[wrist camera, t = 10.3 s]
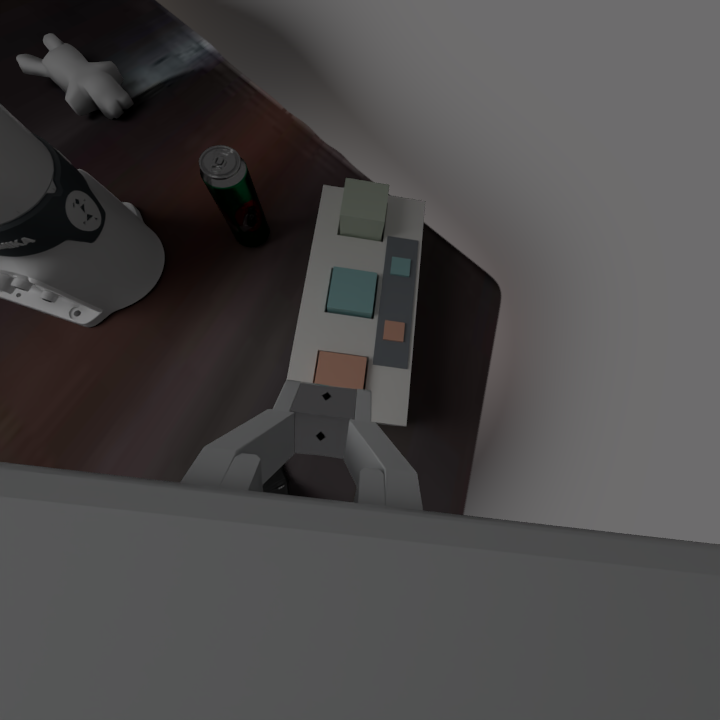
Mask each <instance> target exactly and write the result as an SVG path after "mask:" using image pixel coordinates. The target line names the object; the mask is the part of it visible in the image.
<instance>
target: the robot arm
mask: <svg viewBox="0 0 720 720" xmlns="http://www.w3.org/2000/svg"><path fill="white" fill-rule="evenodd" d="M164 261H165V255H164V249H163V246H162V243H161V241H160V239H159V238H158V236H157V235H156V234H155V233H154V232H153V231H152V230H151V229H150V228H149V227H148V226H147V225H146V224H145V223H144V222H143V219H142V217H141V214H140V212H139V211H138V209H137V208H136V207H134V206H133V205H132V204H131V203H128V202H121V201H120V200H118V199H117V198H116V197H115V196H114V195H113V194H112V193H110V192H109V191H108V190H107V189H106V188H105V187H103V186H102V185H101V184H100V183H99V182H98V181H96V180H95V179H94V178H93V177H92V176H91V175H89V174H88V173H87V172H85V171H83V170H81V169H76V168H75V167H74V166H73V165H72V164H71V162H70V161H69V160H68V159H67V158H66V157H65V156H64V155H63V154H61V153H60V152H59V151H57V150H56V149H55V148H54V147H52V146H51V145H50V144H49V143H48V142H47V141H45V140H44V139H43V138H41V137H39V136H38V135H36V134H33V133H31V132H30V131H29V130H28V129H27V128H26V127H25V126H24V125H23V124H21V123H20V122H19V121H18V120H17V119H16V118H15V117H14V116H13V115H12V114H11V113H10V112H9V111H8V110H7V109H6V108H5V107H3V106H2V105H1V104H0V298H2V299H5V300H8V301H11V302H14V303H17V304H20V305H23V306H26V307H29V308H31V309H34V310H37V311H40V312H43V313H46V314H49V315H52V316H55V317H58V318H61V319H64V320H67V321H70V322H73V323H76V324H79V325H82V326H85V327H93V326H95V325H97V324H98V323H100V322H101V321H102V320H104V319H105V318H106V317H107V316H108V315H109V314H111V313H112V312H114V311H117V310H119V309H122V308H124V307H127V306H129V305H131V304H133V303H135V302H137V301H138V300H140V299H141V298H143V297H144V296H145V295H146V294H147V293H148V292H149V291H150V290H151V289H152V288H153V287H154V286H155V284H156V283H157V281H158V280H159V278H160V276H161V274H162V271H163V267H164ZM80 313H81V314H80ZM79 314H80V315H79ZM294 453H301V454H312V455H321V456H328V457H335V458H342V459H344V462H345V464H346V466H347V468H348V470H349V472H350V474H351V476H352V478H353V480H354V482H355V484H356V486H357V489H356V494H355V498H354V503H353V502H344V501H336V500H327V499H318V498H310V497H301V496H292V495H284V494H275V493H266V492H263V484H264V483H265V482H266V481H267V480H268V479H269V478H270V477H271V476H272V475H273V474H274V473H275V472H276V471H277V470H278V469H279V468H280V467H281V466H282V465H283V464H284V463H286V462H287V461H288V460H289V459H290V458H291V457H292V456H293V455H294ZM0 720H720V544H709V543H701V542H692V541H684V540H675V539H666V538H657V537H648V536H639V535H631V534H622V533H613V532H605V531H595V530H587V529H579V528H570V527H561V526H552V525H544V524H535V523H527V522H518V521H509V520H501V519H492V518H483V517H474V516H466V515H457V514H449V513H440V512H431V511H423V509H422V502H421V496H420V489H419V483H418V476H417V473H416V471H415V470H414V469H413V468H412V466H411V465H410V464H409V463H408V462H407V460H406V459H405V458H404V457H403V455H402V454H401V453H400V452H399V451H398V449H397V448H396V447H395V446H394V444H393V443H392V442H391V441H390V440H389V438H388V437H387V436H386V435H385V433H384V432H383V431H382V430H381V429H380V427H379V426H378V425H377V424H376V423H375V422H371V390H365V389H352V388H344V387H336V386H329V385H323V384H316V383H309V382H303V381H302V382H301V381H295V380H287V381H286V382H285V384H284V386H283V388H282V390H281V392H280V395H279V397H278V399H277V401H276V403H275V405H274V408H273V409H268V410H266V411H264V412H262V413H261V414H259V415H257V416H256V417H254V418H252V419H251V420H249V421H247V422H246V423H244V424H242V425H240V426H239V427H237V428H235V429H234V430H232V431H230V432H229V433H227V434H225V435H223V436H222V437H220V438H218V439H217V440H215V441H213V442H212V443H210V444H208V445H207V446H205V447H204V448H203V449H202V451H201V452H200V454H199V455H198V457H197V458H196V460H195V461H194V463H193V464H192V466H191V467H190V469H189V470H188V472H187V473H186V475H185V476H184V478H183V479H182V481H181V482H180V483H179V482H170V481H162V480H153V479H144V478H136V477H127V476H118V475H110V474H101V473H92V472H83V471H75V470H66V469H57V468H49V467H40V466H31V465H22V464H14V463H5V462H0Z"/></svg>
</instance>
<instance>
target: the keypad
mask: <svg viewBox="0 0 720 720" xmlns="http://www.w3.org/2000/svg"><path fill="white" fill-rule="evenodd" d="M343 193H344V188H340V187H334V186H328V185H323V189H322V195H321V200H320V205H319V211H318V216H317V221H316V227H315V232H314V237H313V243H312V248H311V253H310V258H309V264H308V269H307V274H306V280H305V285H304V290H303V296H302V301H301V306H300V312H299V317H298V322H297V328H296V333H295V338H294V343H293V349H292V354H291V359H290V365H289V370H288V375H287V380H295V381H301V382H302V381H303V382H309V383H315V377H316V370H317V364H318V358H319V352H320V351H324V352H332V353H339V354H346V355H353V356H360V357H367V360H366V369H365V377H364V385H363V389H365V390H371V422H375V423H376V424H382V425H390V426H406V425H407V413H408V401H409V389H410V377H411V365H412V353H413V341H414V330H415V318H416V306H417V294H418V282H419V270H420V258H421V246H422V234H423V222H424V211H425V201H421V200H415V199H409V198H402V197H396V196H390V195H388V200H387V208H386V216H385V223H384V228H383V232H382V237H381V241H373V240H367V239H360V238H354V237H347V236H341V235H340V211H341V205H342V199H343ZM334 266H336V267H342V268H349V269H355V270H362V271H369V272H375V273H377V279H376V287H375V295H374V304H373V312H372V316H371V319H369V318H362V317H355V316H348V315H341V314H334V313H328V312H327V304H328V297H329V291H330V285H331V279H332V273H333V267H334Z"/></svg>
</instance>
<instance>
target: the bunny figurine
mask: <svg viewBox="0 0 720 720" xmlns="http://www.w3.org/2000/svg"><path fill="white" fill-rule="evenodd" d="M43 42H44V44H45V46H46V47H47V48H48V49H49V50H50V51H49V52H48V54H47V55H46V56H45V57H44V59H40V58H38V57H35V56H32V55H28V54H21V55H18V56H17V57H16V59H17V61H18V63H19V65H20V67H21V69H22V71H23V72H24V73H26V74H30V75H37V76H44V77H50V78H51V79H52V80H53V81H54V82H55V83H56V84H57V85H58V86H59V87H60V88H61V89H62V90H63V91H64V92H65V93H66V97H65V100H66V101H67V102H68V103H69V105H70V106H71V107H72V108H73V110H74V111H75V112H76V113H77V114H78V115H81V116H82V115H85V114H87V113H90V112H93V111H95V110H99V109H100V110H101V112H102V113H103V114H104V116H106V117H107V118H108V119H113V118H114V117H115V118H116V119H117V118H119V117H120V116H121V115H122V114H123V113H124V112H123V109H125V110H127V109H129V108H130V107H131V106H132V105H133V104H134V103H133V101H132V99H131V98H130V96H129V94H128V93H127V92H125V91H124V90H123V88H122V87H121V86H120V85H121V83H122V81H123V80H124V79H123V78H122V76H121V74H120V72H119V71H118V69H117V67H116V65H115V64H113V63H112V62H111V61H107V62H88V61H87V60H86V59H85V58H84V56H83V55H82V54H81V53H80V52H79V51H78V50H77V49H75V48H74V47H73V46H71V45H69V44H67V43H65V44H64V43H63V42H62V41H61V40H60V39H58V38H57V37H56V36H55V35H54V34H47V35H45V36H44V38H43Z"/></svg>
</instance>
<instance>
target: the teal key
mask: <svg viewBox="0 0 720 720" xmlns="http://www.w3.org/2000/svg"><path fill="white" fill-rule="evenodd" d="M376 279H377V273H375V272H369V271H362V270H355V269H349V268H342V267H336V266H334V267H333V273H332V279H331V285H330V291H329V297H328V304H327V312H328V313H334V314H341V315H348V316H355V317H362V318H369V319H371V316H372V312H373V304H374V295H375V287H376Z"/></svg>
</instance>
